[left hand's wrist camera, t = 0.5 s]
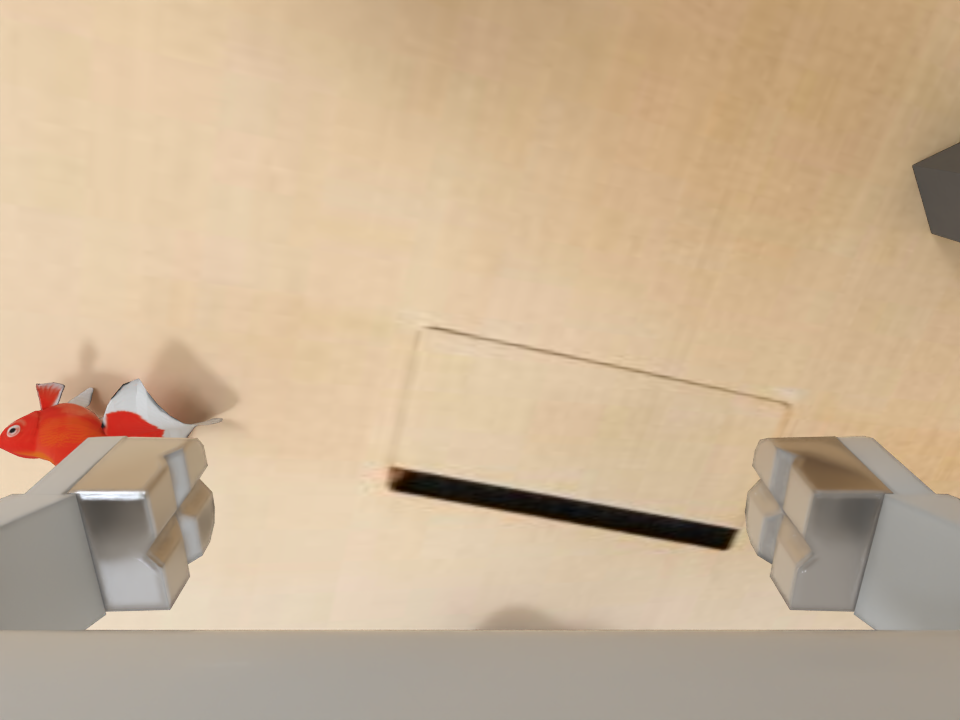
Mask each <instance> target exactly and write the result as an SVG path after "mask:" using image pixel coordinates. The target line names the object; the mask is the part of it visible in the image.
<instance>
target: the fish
mask: <svg viewBox="0 0 960 720" xmlns="http://www.w3.org/2000/svg"><path fill="white" fill-rule="evenodd" d="M64 387H65V386H64V385H63V384H59V383H54V382H53V383H46V384H36V388H37V392H38V397H39V401H40V406H41V410H40V411H34V412H32V413H30V414H28V415H26V416H24V417H22V418H20V419H18V420H16V421H14V422H13V423H11V424H10V425H9V426H8V427H7V428H5V429H4V431H3V432H2V433H1V435H0V448H1V449H4V450H6V451H8V452H10V453H12V454H14V455H17V456H19V457H23V458H32V459H35V458H41V459H44V460H48V461H50V462H52V463H53V464H54V465H55V466H56V465H58V464H59V463H60V462H61V461H62V460H63V459H64V458H65V457H67V456H68V455H69V454H70V453H71V452H72V451H73V450H75V449H76V448H77V447H78V446H79V445H80V444H81V443H82V442H84V441H85V440H86V439H87V438H89V437H109V436H127V437H168V438H187V437H188V435H189V434H190V433H191V431H192V430H193V429H194V427H195V426H197V425H210V424H214V423H218V422H221V421H222V420H223V419H219V418H213V419H210V420H208V421H205V422H200V423H195V424H184V423H182V422H180V421H178V420H176V419H175V418H173V417H171V416H170V415H169V414H168V413H167V412H165V411H164V410H163V409H162V408H161V407H160V406H159V405H158V404H157V403H156V402H155V401H154V399H153V398H152V397H151V396H150V394H149V393H148V392H147V391H146V389H145V387H144V386H143V384H142V382H141V381H140V379H136V380H134V381H131V382H128V383H125V384H123V385H122V386H121V387H120V389H119V390H118V391H117V392H116V393H115V395H114V396H113V397H112V398H111V400H110V402H109V404H108V406H107V408H106V411H105V414H104V417H103V418H100V419H99V418H98V417H97V416H96V415H95V414H94V413H93V412H92V411H90V410H89V409H87V408H85V407H87V406H88V405H89V404H90V402H91V398H92V393H93V388H88V389H86V390H85V391H83V392H82V393H81V394H79V395H78V396H76V397H75V398H73V399H72V400H70V401H69V402H68V403H62V404H58V403H59V401H60V398H61V395H62V392H63V390H64Z"/></svg>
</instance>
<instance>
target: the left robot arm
mask: <svg viewBox="0 0 960 720" xmlns="http://www.w3.org/2000/svg"><path fill="white" fill-rule="evenodd" d="M207 466H208V464H207V460H206V455H205V450H204V445H203V444H202V443H201V442H200V441H199V440H198V438H168V437H127V436H109V437H89V438H87V439H86V440H85V441H84V442H82V443H81V444H80V445H79V446H78V447H77V448H76V449H75V450H73V451H72V452H71V453H70V454H69V455H68V456H67V457H65V458H64V459H63V460H62V461H61V462H60V463H59V464H58V465H56V466H55V467H54V468H53V469H52V470H51V471H50V472H48V473H47V474H46V475H45V476H44V477H43V478H42V479H41V480H39V481H38V482H37V483H36V484H35V485H34V486H33V487H32V488H30V489H29V490H28V491H27V492H26V493H25V494H12V495H9V496H6V497H4V498H1V499H0V720H960V499H959V498H956V497H954V496H951V495H948V494H935V493H934V492H933V491H932V490H931V489H930V488H929V487H927V486H926V485H925V484H924V483H923V482H922V481H921V480H920V479H918V478H917V477H916V476H915V475H914V474H913V473H912V472H911V471H909V470H908V469H907V468H906V467H905V466H904V465H903V464H901V463H900V462H899V461H898V460H897V459H896V458H895V457H894V456H892V455H891V454H890V453H889V452H888V451H887V450H886V449H885V448H883V447H882V446H881V445H880V444H879V443H878V442H877V441H876V440H874V439H873V438H870V437H866V436H850V437H793V438H766V439H761V440H760V441H759V443H758V445H757V447H756V449H755V453H754V459H753V464H752V466H753V468H754V469H755V471H756V472H757V474H758V475H759V477H760V480H759V481H758V482H757V483H756V484H755V485H754V486H753V487H752V488H751V489H750V490H749V491H748V494H747V501H746V509H745V516H746V527H747V533H748V536H749V539H750V542H751V545H752V546H753V548H754V550H755V552H756V554H757V555H758V556H759V557H761V558H763V559H764V560H766V561H768V562H769V563H771V564H772V568H771V573H770V577H771V579H772V581H773V582H774V584H775V586H776V587H777V589H778V591H779V592H780V594H781V596H782V597H783V599H784V601H785V602H786V604H787V606H788V607H789V609H790V610H816V611H853V612H854V615H856V616H857V617H858V618H860V619H861V620H862V621H864V622H865V623H867V624H868V625H869V626H871V627H872V628H873V629H875V630H86V629H87V628H88V627H90V626H91V625H92V624H94V623H95V622H96V621H98V620H99V619H101V618H102V617H103V616H105V615H106V611H143V610H170V609H171V607H172V606H173V604H174V602H175V601H176V599H177V597H178V596H179V594H180V592H181V591H182V589H183V587H184V586H185V584H186V582H187V581H188V579H189V577H190V573H189V568H188V564H189V563H191V562H192V561H194V560H196V559H197V558H199V557H201V556H202V555H203V553H204V552H205V550H206V548H207V546H208V544H209V543H210V540H211V535H212V531H213V527H214V513H215V506H214V500H213V494H212V491H211V490H210V489H209V488H208V487H207V486H206V485H205V484H204V483H203V482H202V481H201V480H200V477H201V475H202V474H203V472H204V471H205V469H206V468H207Z"/></svg>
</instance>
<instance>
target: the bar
mask: <svg viewBox="0 0 960 720" xmlns="http://www.w3.org/2000/svg"><path fill="white" fill-rule="evenodd" d="M913 170H914V173H915V177H916V180H917V184H918V187H919V191H920V194H921V198H922V202H923V205H924V209H925V212H926V216H927V219H928V223H929V226H930V230H931V233H932V234H935V235H938V236H941V237H945V238H948V239H951V240H954V241H957V242H960V143H958V144H956V145H954V146H952V147H950V148H947V149H945V150H943V151H941V152H939V153H937V154H935V155H933V156H931V157H929V158H927V159H925V160H923V161H921V162H919V163H916V164H914V165H913Z"/></svg>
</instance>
